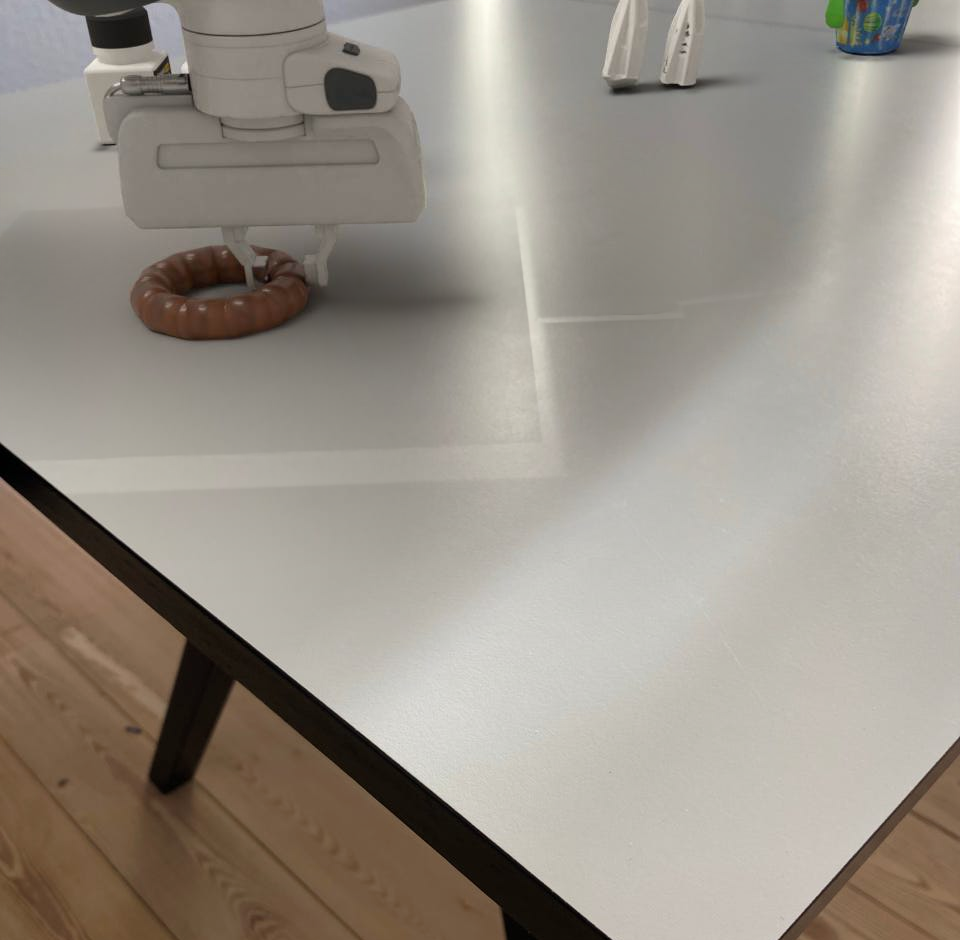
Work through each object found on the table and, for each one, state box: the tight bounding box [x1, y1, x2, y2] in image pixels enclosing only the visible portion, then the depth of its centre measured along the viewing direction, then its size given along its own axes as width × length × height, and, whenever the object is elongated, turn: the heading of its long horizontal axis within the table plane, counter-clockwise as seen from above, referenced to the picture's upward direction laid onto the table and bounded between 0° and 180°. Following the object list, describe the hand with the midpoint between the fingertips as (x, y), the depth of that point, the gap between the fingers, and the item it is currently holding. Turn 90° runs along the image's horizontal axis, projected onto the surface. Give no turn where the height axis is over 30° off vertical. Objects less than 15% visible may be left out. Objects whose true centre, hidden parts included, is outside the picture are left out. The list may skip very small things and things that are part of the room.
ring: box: [129, 244, 311, 341], centre depth 80 cm, size 12×12×3 cm
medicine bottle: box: [83, 6, 173, 145], centre depth 114 cm, size 7×7×12 cm
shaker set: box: [601, 0, 706, 89], centre depth 122 cm, size 12×4×11 cm, turn 101°
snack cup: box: [824, 0, 920, 55], centre depth 133 cm, size 16×10×10 cm
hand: (289, 284), depth 79 cm, fingers closed on ring, 3 cm apart
